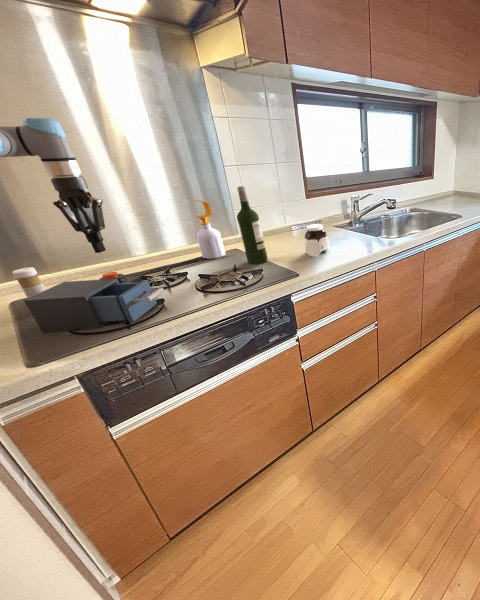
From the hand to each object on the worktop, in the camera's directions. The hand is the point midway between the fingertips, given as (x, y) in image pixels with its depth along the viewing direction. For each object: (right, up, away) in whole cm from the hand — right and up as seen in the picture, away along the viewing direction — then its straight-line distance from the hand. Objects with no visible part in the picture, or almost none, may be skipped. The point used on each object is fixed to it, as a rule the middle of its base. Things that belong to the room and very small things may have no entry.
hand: (100, 251), depth 108 cm
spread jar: (+63, +5, +37) cm, 73 cm away
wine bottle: (+40, 0, +29) cm, 49 cm away
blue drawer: (+22, -20, -14) cm, 33 cm away
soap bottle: (+17, +3, +37) cm, 41 cm away
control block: (0, -12, +6) cm, 13 cm away
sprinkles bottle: (-8, -20, -9) cm, 23 cm away
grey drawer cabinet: (+10, -22, -15) cm, 28 cm away
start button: (0, -9, +5) cm, 10 cm away
